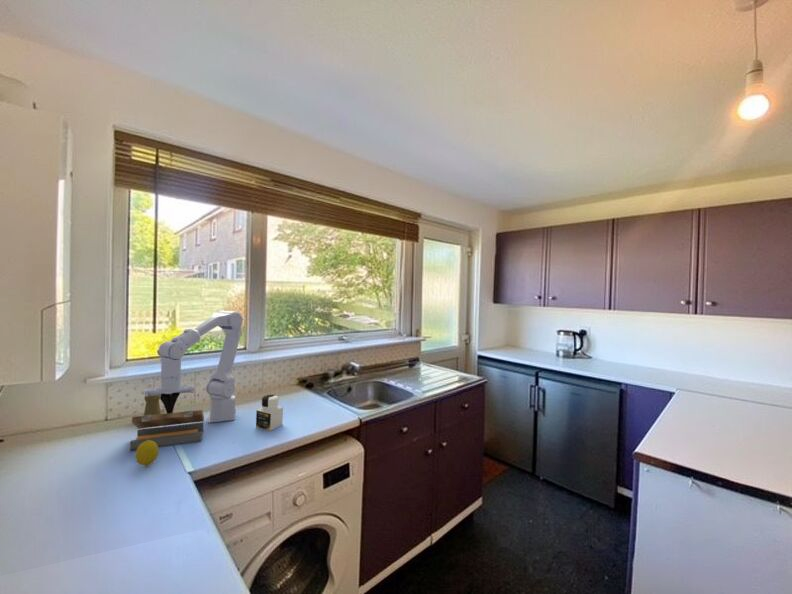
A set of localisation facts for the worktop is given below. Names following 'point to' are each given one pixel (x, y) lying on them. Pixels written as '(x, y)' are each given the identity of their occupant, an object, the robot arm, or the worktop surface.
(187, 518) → the worktop surface
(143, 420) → the tan flat wooden board
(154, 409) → the cork
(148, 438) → the cable duct
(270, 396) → the medicine bottle
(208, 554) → the worktop surface
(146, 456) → the lemon
